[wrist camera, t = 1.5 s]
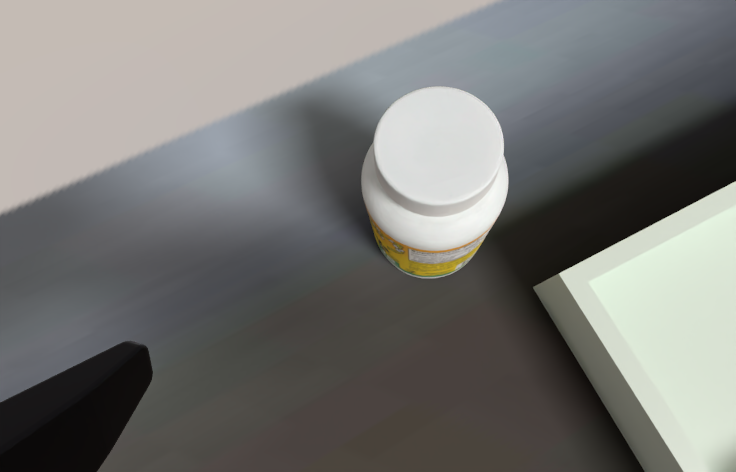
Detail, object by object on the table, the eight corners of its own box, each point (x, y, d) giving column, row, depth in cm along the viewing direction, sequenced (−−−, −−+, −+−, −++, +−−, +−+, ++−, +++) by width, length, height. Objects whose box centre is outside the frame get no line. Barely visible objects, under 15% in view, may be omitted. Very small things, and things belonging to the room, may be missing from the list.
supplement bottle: (487, 274, 22) (542, 220, 13) (378, 284, 23) (356, 238, 13) (473, 172, 24) (514, 57, 14) (370, 182, 24) (345, 76, 15)
